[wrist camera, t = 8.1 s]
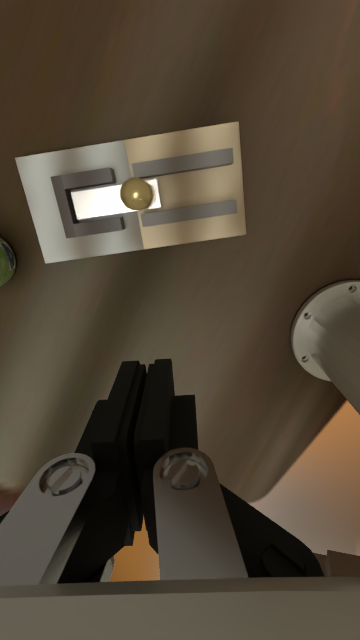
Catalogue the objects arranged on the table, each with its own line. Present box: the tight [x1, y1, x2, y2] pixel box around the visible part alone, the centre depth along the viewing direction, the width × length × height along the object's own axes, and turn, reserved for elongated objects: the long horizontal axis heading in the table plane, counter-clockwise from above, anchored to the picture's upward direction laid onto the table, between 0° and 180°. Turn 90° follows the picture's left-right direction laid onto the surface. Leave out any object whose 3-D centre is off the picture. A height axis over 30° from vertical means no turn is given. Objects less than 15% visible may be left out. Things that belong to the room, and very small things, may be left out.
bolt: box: [71, 177, 162, 220], centre depth 28 cm, size 8×2×6 cm, turn 98°
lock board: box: [15, 121, 246, 263], centre depth 31 cm, size 21×10×4 cm, turn 98°
